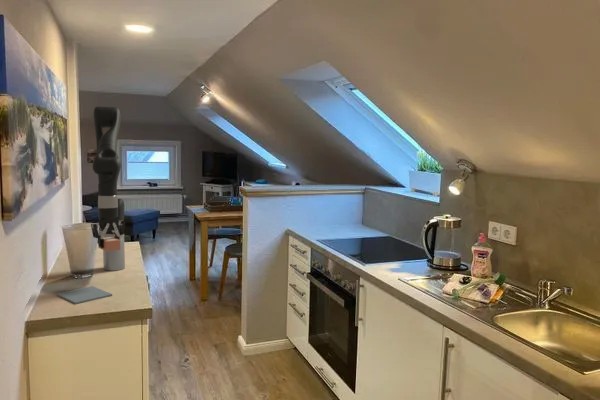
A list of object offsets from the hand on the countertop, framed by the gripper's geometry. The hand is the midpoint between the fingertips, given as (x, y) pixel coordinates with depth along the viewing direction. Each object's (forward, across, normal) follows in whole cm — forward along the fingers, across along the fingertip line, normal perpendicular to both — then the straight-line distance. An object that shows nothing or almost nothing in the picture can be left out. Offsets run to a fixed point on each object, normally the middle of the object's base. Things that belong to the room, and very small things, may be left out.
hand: (109, 246), depth 193 cm
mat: (+16, +14, +7) cm, 22 cm away
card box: (+1, 0, 0) cm, 1 cm away
